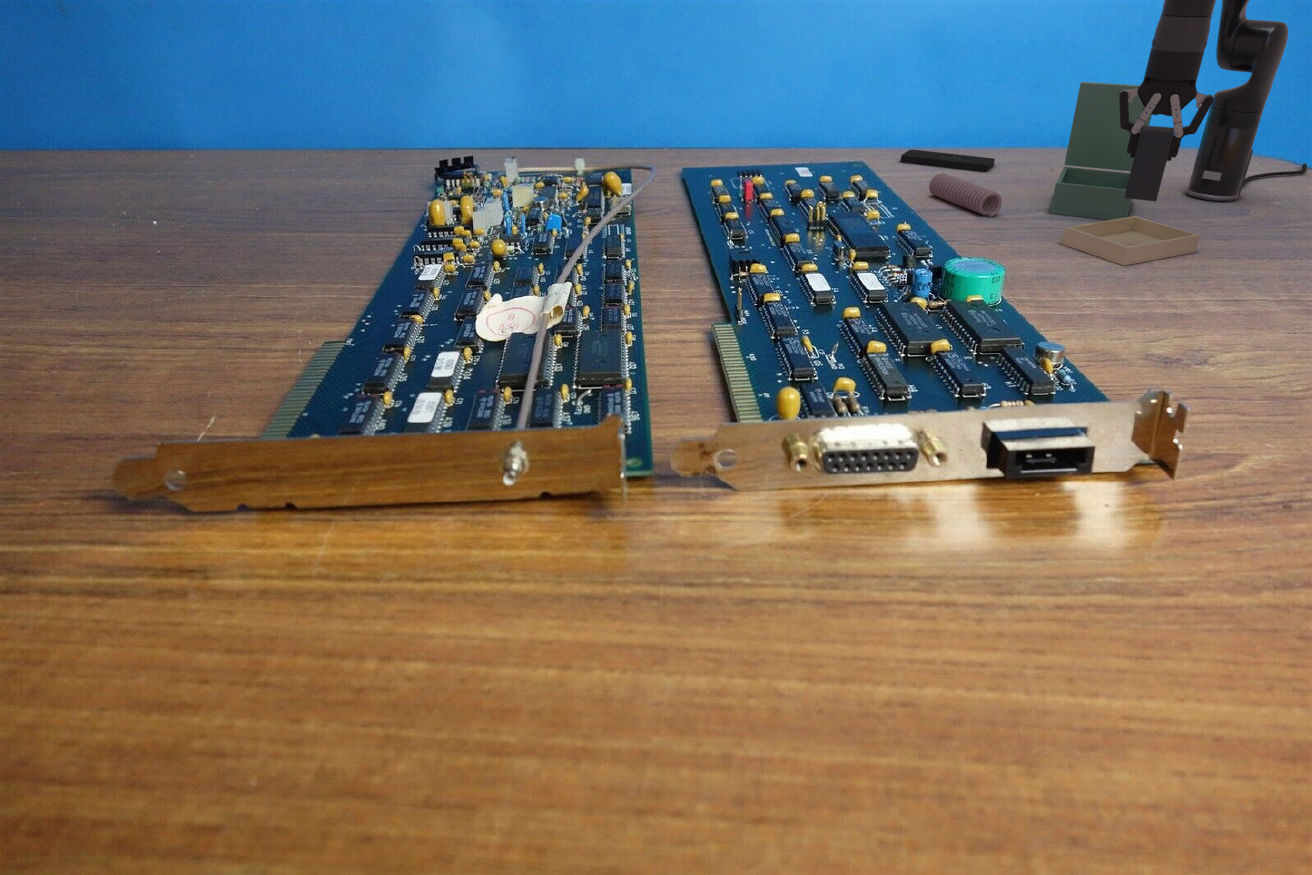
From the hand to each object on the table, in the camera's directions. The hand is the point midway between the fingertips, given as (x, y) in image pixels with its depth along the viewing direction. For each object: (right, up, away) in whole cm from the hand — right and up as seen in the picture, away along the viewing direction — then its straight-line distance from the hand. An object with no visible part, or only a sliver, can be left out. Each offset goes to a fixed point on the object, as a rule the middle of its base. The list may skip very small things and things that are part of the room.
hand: (1150, 157), depth 154 cm
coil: (-21, 0, +32) cm, 38 cm away
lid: (+7, +14, +28) cm, 33 cm away
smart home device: (-13, +18, +65) cm, 69 cm away
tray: (0, -13, +7) cm, 15 cm away
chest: (+4, -1, +31) cm, 31 cm away
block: (0, -6, +3) cm, 6 cm away
